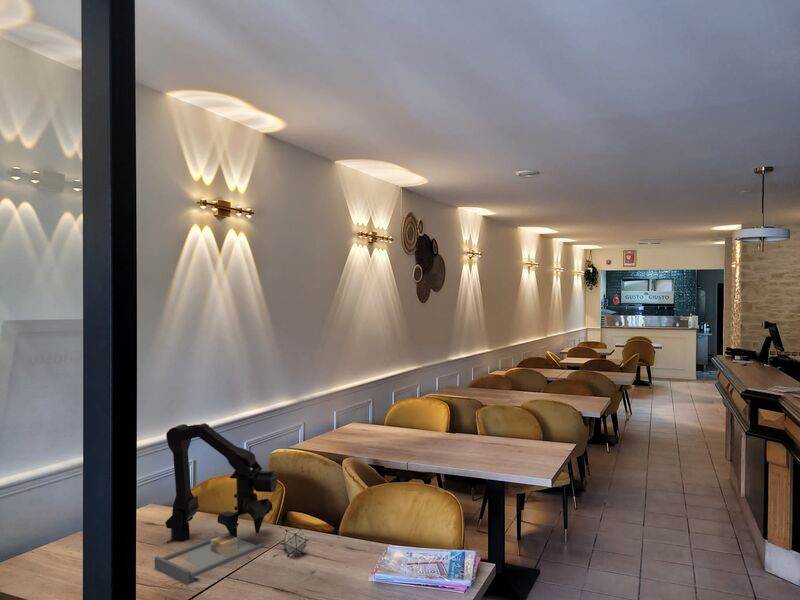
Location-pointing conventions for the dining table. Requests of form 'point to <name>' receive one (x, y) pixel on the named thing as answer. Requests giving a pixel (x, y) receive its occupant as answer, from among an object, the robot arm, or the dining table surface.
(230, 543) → the maple block
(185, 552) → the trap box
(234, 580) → the dining table surface
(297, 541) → the wire geodesic ornament
